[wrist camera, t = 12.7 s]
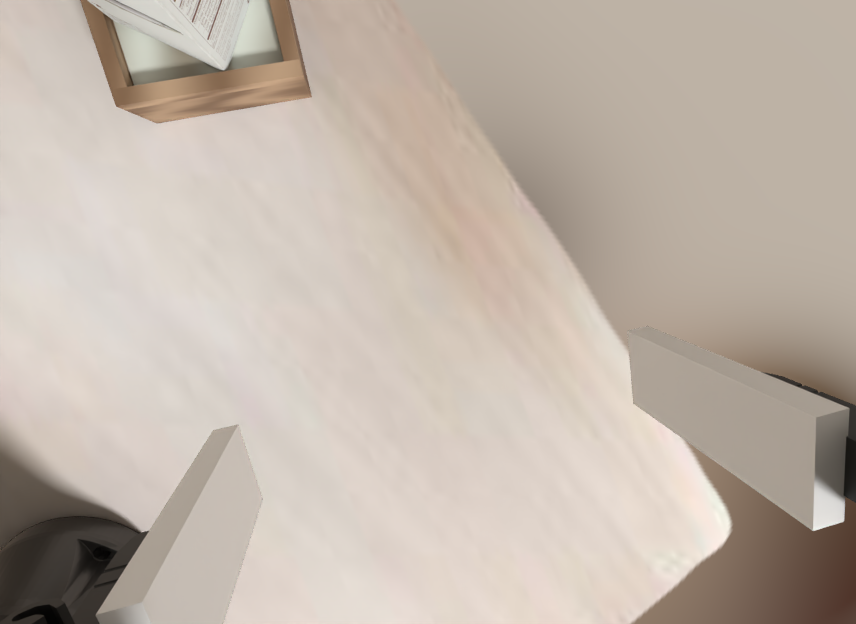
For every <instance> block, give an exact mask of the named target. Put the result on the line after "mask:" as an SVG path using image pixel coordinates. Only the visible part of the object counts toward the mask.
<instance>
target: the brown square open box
mask: <svg viewBox="0 0 856 624" xmlns="http://www.w3.org/2000/svg"><path fill="white" fill-rule="evenodd" d="M80 1H81V4H82V7H83V10H84V13H85V15H86V18H87V21H88V24H89V27H90V30H91V33H92V36H93V39H94V42H95V45H96V48H97V51H98V54H99V57H100V60H101V63H102V66H103V69H104V72H105V75H106V78H107V81H108V84H109V87H110V90H111V93H112V96H113V99H114V102H115V105H116V106H117V107H119V108H121V109H124V110H126V111H129V112H131V113H133V114H136V115H138V116H141V117H143V118H145V119H148V120H150V121H152V122H155V123H162V122H168V121H173V120H179V119H185V118H191V117H197V116H203V115H209V114H215V113H220V112H226V111H232V110H238V109H244V108H250V107H256V106H262V105H267V104H273V103H279V102H285V101H291V100H297V99H303V98H309V97H312V96H311V92H310V87H309V83H308V79H307V75H306V70H305V66H304V62H303V58H302V53H301V49H300V45H299V41H298V36H297V32H296V28H295V23H294V19H293V15H292V11H291V6H290V2H289V0H251V1H250V4H249V7H248V10H247V13H246V16H245V19H244V22H243V25H242V28H241V31H240V34H239V37H238V40H237V44H236V46H235V49H234V53H233V56H232V59H231V61H230V64H229V68H228V71H220V70H218V69H216V68H215V67H213V66H211V65H209V64H207V63H205V62H203V61H201V60H199V59H197V58H195V57H192V56H190V55H188V54H186V53H184V52H182V51H180V50H178V49H176V48H174V47H172V46H169V45H167V44H165V43H163V42H161V41H159V40H157V39H154V38H152V37H150V36H148V35H145V34H143V33H141V32H138V31H136V30H134V29H131V28H129V27H126V26H124V25H122V24H119V23H117V22H115V21H114V20H112V19H111V18H110V17H108V16H107V15H106V14H104V13H103V12H102V11H100V10H99V9H98V8H96V7H95V6H94V5H93V4H91V3H90V2H89V1H87V0H80Z"/></svg>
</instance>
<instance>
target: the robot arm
mask: <svg viewBox="0 0 856 624" xmlns="http://www.w3.org/2000/svg"><path fill="white" fill-rule="evenodd" d="M627 333H628V345H629V357H630V369H631V381H632V393H633V404H635V405H636V406H638V407H639V408H640V409H642V410H643V411H645V412H646V413H647V414H649V415H650V416H652V417H653V418H655V419H656V420H657V421H659V422H660V423H662V424H663V425H664V426H666V427H667V428H669V429H670V430H671V431H673V432H674V433H676V434H677V435H678V436H680V437H681V438H683V439H684V440H686V441H687V442H688V443H690V444H691V445H693V446H694V447H696V448H697V449H698V450H700V451H701V452H702V453H704V454H705V455H707V456H708V457H710V458H711V459H712V460H714V461H715V462H717V463H718V464H720V465H721V466H722V467H724V468H725V469H727V470H728V471H729V472H731V473H732V474H733V475H735V476H736V477H738V478H739V479H741V480H742V481H743V482H745V483H746V484H748V485H749V486H750V487H752V488H753V489H755V490H756V491H758V492H759V493H760V494H762V495H763V496H765V497H766V498H767V499H769V500H770V501H772V502H773V503H774V504H776V505H777V506H779V507H780V508H781V509H783V510H784V511H786V512H787V513H788V514H790V515H791V516H793V517H794V518H796V519H797V520H799V521H800V522H801V523H803V524H804V525H805V526H807V527H808V528H810V529H811V530H813V531H814V530H818V529H821V528H824V527H828V526H831V525H834V524H838V523H841V522H844V509H845V497H847V498H849V499H850V500H852V501H854V502H856V406H855V405H853V404H850V403H848V402H845V401H843V400H840V399H838V398H835V397H833V396H830V395H828V394H825V393H823V392H820V393H818V391H817V390H815V389H813V388H810V387H808V386H802V384H800V383H797V382H795V381H793V380H790V379H788V378H785V377H782V376H778V375H773V374H768V373H764V372H759V371H757V370H755V369H752V368H750V367H747V366H745V365H742V364H740V363H737V362H735V361H733V360H730V359H727V358H725V357H723V356H720V355H718V354H715V353H713V352H711V351H708V350H706V349H703V348H701V347H698V346H696V345H693V344H691V343H688V342H686V341H684V340H681V339H678V338H676V337H674V336H671V335H669V334H666V333H664V332H661V331H659V330H657V329H654V328H652V327H649V326H646V327H642V328H637V329H633V330H629V331H627ZM262 500H263V498H262V495H261V492H260V489H259V486H258V483H257V480H256V477H255V474H254V471H253V468H252V465H251V462H250V459H249V456H248V452H247V449H246V446H245V443H244V440H243V437H242V434H241V431H240V428H239V425H234V426H230V427H226V428H221V429H217V430H213V432H212V433H211V435H210V436H209V438H208V440H207V441H206V443H205V444H204V446H203V447H202V449H201V451H200V452H199V454H198V455H197V457H196V458H195V460H194V461H193V463H192V465H191V466H190V468H189V469H188V471H187V472H186V474H185V476H184V477H183V479H182V480H181V482H180V483H179V485H178V487H177V488H176V490H175V491H174V493H173V494H172V496H171V498H170V499H169V501H168V502H167V504H166V505H165V507H164V508H163V510H162V512H161V513H160V515H159V516H158V518H157V519H156V521H155V523H154V524H153V526H152V527H151V529H150V530H149V531H146V532H142V533H137V532H135V531H133V530H131V529H129V528H127V527H125V526H123V525H121V524H118V523H115V522H112V521H108V520H104V519H99V518H92V517H66V518H59V519H54V520H50V521H46V522H43V523H40V524H37V525H35V526H33V527H31V528H29V529H27V530H25V531H23V532H22V533H20V534H19V535H17V536H16V537H14V538H13V539H12V540H11V541H10V542H9V543H8V544H7V545H6V546H5V547H4V548H3V549H2V550H0V624H223V623H224V620H225V616H226V613H227V610H228V607H229V604H230V601H231V598H232V594H233V591H234V588H235V585H236V582H237V579H238V576H239V572H240V569H241V566H242V563H243V560H244V557H245V554H246V550H247V547H248V544H249V541H250V538H251V535H252V532H253V529H254V525H255V522H256V519H257V516H258V513H259V510H260V507H261V503H262Z"/></svg>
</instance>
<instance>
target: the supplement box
mask: <svg viewBox="0 0 856 624" xmlns="http://www.w3.org/2000/svg"><path fill="white" fill-rule="evenodd" d="M87 1H89V2H90V3H91V4H93V5H94V6H95V7H96V8H98V9H99V10H100V11H102V12H103V13H104V14H106V15H107V16H108V17H110V18H111V19H112V20H114V21H115V22H117V23H119V24H122V25H124V26H126V27H129V28H131V29H134V30H136V31H138V32H141V33H143V34H145V35H148V36H150V37H152V38H154V39H157V40H159V41H161V42H163V43H165V44H167V45H169V46H172V47H174V48H176V49H178V50H180V51H182V52H184V53H186V54H188V55H190V56H192V57H195V58H197V59H199V60H201V61H203V62H205V63H207V64H209V65H211V66H213V67H215V68H216V69H218V70H220V71H228V68H229V64H230V61H231V59H232V56H233V53H234V49H235V46H236V44H237V40H238V37H239V34H240V31H241V28H242V25H243V22H244V19H245V16H246V13H247V10H248V7H249V4H250V1H251V0H87Z"/></svg>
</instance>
